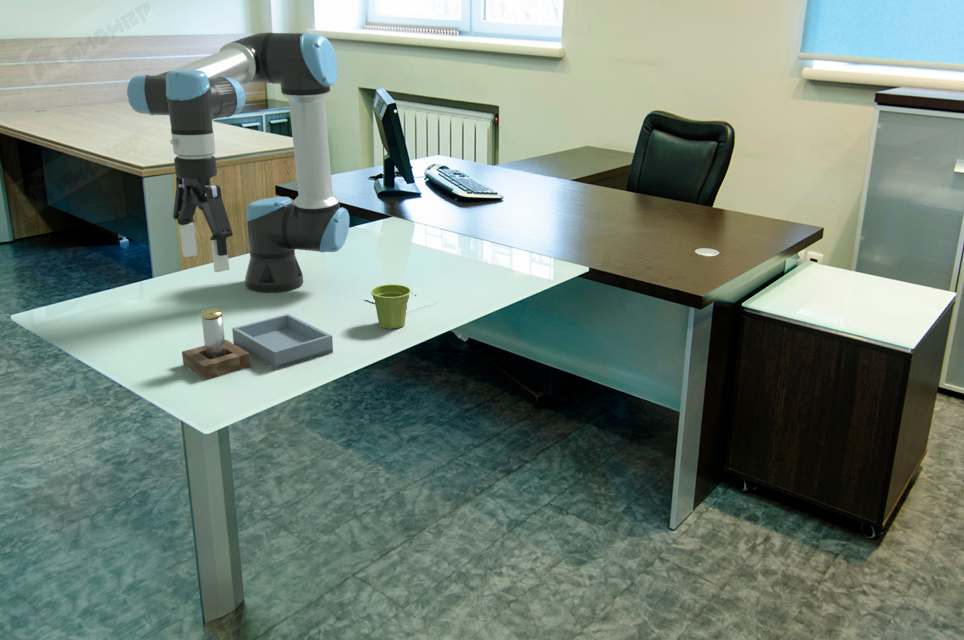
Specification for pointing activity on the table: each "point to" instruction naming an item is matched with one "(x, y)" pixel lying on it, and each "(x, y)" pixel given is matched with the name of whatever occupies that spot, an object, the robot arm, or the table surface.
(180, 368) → the table surface
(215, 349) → the pin
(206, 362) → the socket block
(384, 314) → the plant pot
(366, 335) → the table surface
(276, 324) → the tray
